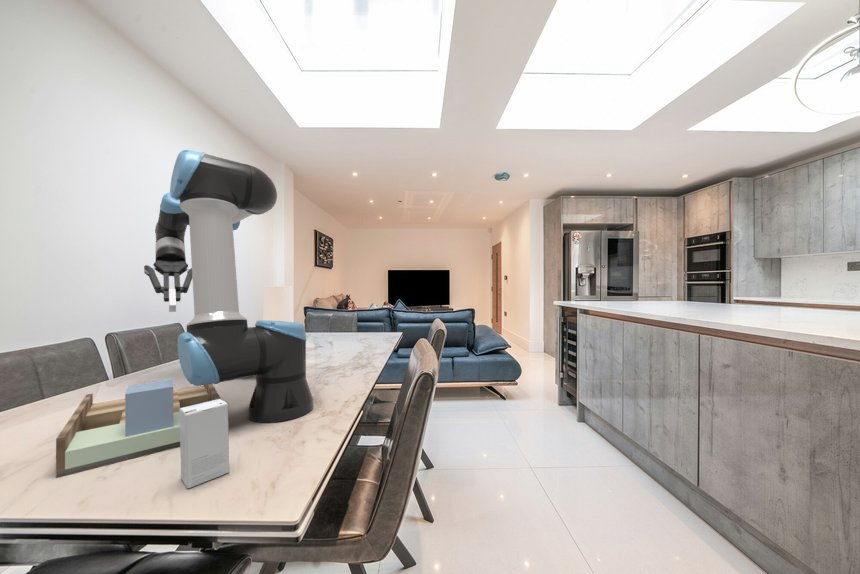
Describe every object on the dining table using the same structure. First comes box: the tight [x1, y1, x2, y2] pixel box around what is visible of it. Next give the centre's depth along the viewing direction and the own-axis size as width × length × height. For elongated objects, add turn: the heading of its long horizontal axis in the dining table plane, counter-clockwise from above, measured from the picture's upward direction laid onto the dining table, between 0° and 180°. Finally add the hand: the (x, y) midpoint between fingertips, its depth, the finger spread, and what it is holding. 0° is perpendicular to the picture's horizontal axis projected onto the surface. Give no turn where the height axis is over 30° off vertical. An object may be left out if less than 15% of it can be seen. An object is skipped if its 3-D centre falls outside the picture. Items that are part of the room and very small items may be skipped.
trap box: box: [55, 384, 222, 479], centre depth 73 cm, size 30×24×6 cm
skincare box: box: [179, 398, 230, 489], centre depth 54 cm, size 6×4×12 cm
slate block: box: [124, 378, 174, 437], centre depth 65 cm, size 7×7×8 cm
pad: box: [65, 412, 180, 469], centre depth 66 cm, size 10×22×3 cm, turn 130°
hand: (172, 308), depth 91 cm, fingers closed
